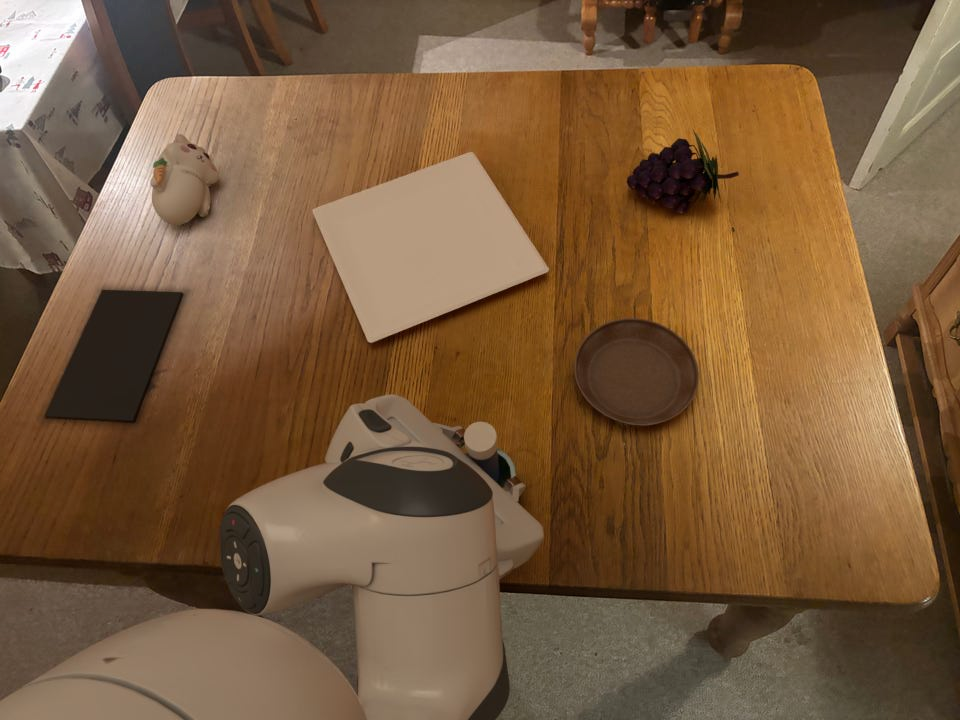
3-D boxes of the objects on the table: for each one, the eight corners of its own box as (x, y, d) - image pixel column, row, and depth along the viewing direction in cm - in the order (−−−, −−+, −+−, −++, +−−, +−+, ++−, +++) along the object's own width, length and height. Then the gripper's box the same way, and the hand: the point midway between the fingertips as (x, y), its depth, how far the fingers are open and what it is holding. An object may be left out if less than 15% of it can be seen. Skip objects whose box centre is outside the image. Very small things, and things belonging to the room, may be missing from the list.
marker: (491, 515, 74) (482, 457, 59) (471, 499, 75) (457, 438, 60) (508, 495, 75) (503, 434, 60) (488, 479, 76) (478, 415, 61)
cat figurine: (154, 193, 91) (174, 110, 97) (123, 213, 95) (144, 132, 101) (215, 226, 98) (230, 147, 104) (183, 244, 102) (200, 167, 108)
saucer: (718, 376, 81) (724, 365, 79) (644, 458, 77) (647, 449, 74) (623, 310, 87) (626, 298, 85) (548, 382, 82) (549, 371, 80)
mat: (134, 422, 83) (132, 420, 83) (46, 417, 84) (43, 416, 84) (183, 294, 93) (182, 291, 93) (104, 291, 94) (102, 289, 94)
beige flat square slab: (371, 351, 86) (368, 342, 85) (314, 217, 99) (310, 208, 97) (549, 279, 91) (550, 269, 89) (473, 160, 103) (472, 149, 101)
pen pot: (493, 537, 73) (489, 515, 66) (451, 502, 75) (444, 478, 68) (528, 495, 75) (528, 469, 68) (486, 463, 78) (482, 435, 71)
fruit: (631, 193, 102) (735, 176, 97) (632, 237, 95) (743, 221, 90) (622, 134, 94) (734, 113, 90) (622, 177, 88) (742, 157, 83)
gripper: (508, 559, 49) (584, 508, 61) (339, 392, 58) (435, 375, 69) (470, 614, 52) (551, 555, 63) (313, 446, 60) (410, 421, 71)
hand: (489, 460), depth 66 cm, fingers open, 6 cm apart
